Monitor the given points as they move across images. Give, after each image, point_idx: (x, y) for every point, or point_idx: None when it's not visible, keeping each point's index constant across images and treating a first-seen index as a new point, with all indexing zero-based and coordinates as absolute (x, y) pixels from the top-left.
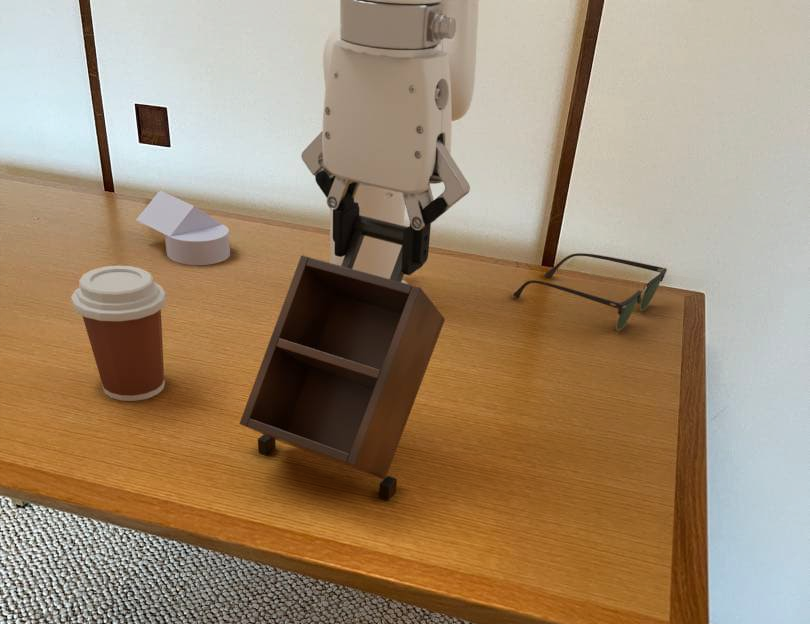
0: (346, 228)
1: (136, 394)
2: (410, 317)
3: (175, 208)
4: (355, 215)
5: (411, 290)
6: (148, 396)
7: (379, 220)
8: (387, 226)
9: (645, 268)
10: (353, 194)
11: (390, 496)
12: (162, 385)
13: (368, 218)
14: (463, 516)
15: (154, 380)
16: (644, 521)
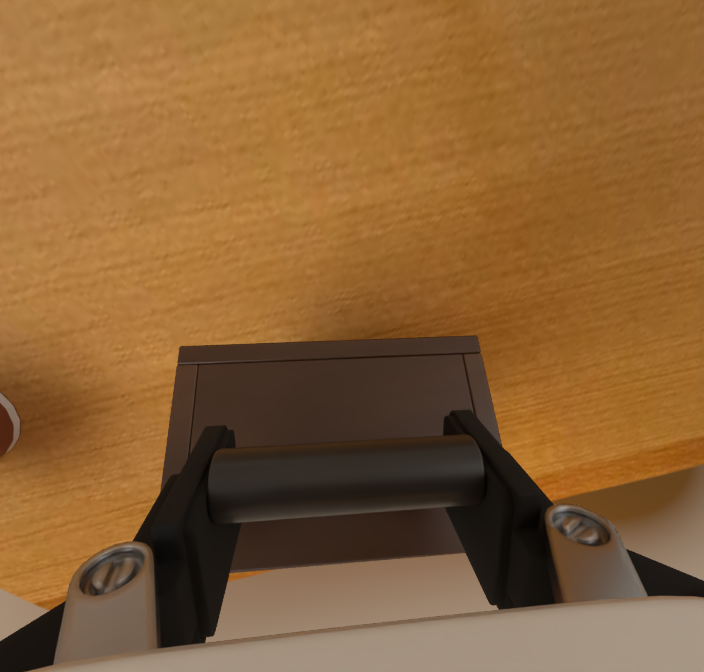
0: (223, 557)
1: (6, 450)
2: None
3: None
4: (207, 526)
5: None
6: (18, 433)
7: (314, 500)
8: (365, 511)
9: None
10: (158, 599)
11: None
12: (7, 407)
13: (266, 511)
14: (500, 410)
15: (2, 433)
16: (685, 304)
